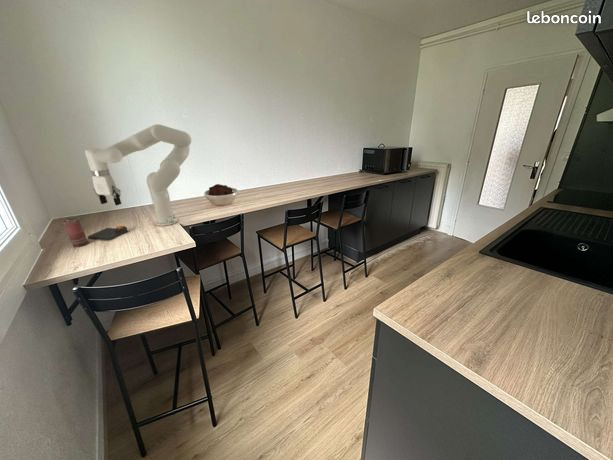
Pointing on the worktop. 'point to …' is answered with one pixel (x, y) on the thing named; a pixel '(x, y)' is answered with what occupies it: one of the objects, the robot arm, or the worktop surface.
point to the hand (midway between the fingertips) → (111, 204)
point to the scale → (108, 233)
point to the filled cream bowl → (221, 194)
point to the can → (75, 232)
